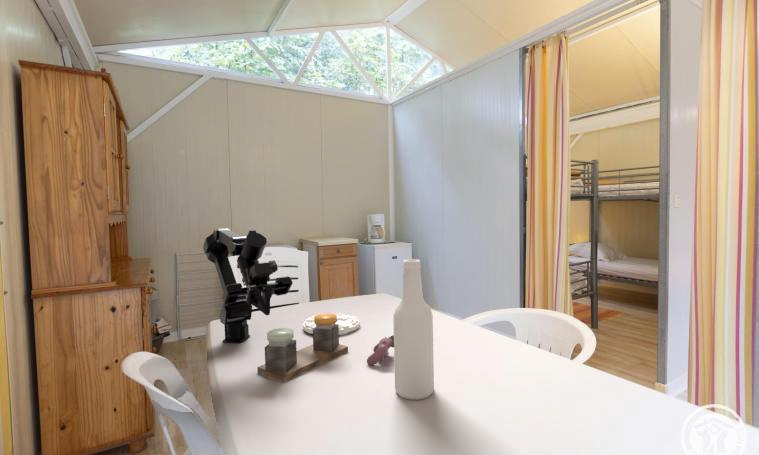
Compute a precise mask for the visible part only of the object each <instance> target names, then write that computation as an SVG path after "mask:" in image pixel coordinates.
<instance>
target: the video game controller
mask: <svg viewBox="0 0 759 455" xmlns="http://www.w3.org/2000/svg"><path fill="white" fill-rule="evenodd" d="M391 343H392V339H391V338H389V337H386V336H385V337H383V338H381V339H380V340H379V342H378V343H377V344H376V345H375V346H374V347H373V351H372V352H373V353H372V354H371V355H369V356H368V357H367V360H366V362H367V365H369V366H374V365H376V364H379V363H382V362H383V360H384V359H385V358H386V357H388V356H389V355H390V352H389V349H390V348H391Z"/></svg>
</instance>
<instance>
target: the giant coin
mask: <svg viewBox="0 0 759 455" xmlns="http://www.w3.org/2000/svg"><path fill="white" fill-rule="evenodd" d="M336 315H337V322H336V323H335V324H338V326H339V336H341V335H342V336H343V335H347V334H348V333H352V332H353V331H356V330H357V329H359V328H360V325H361V324H360V319H359V318H358V317H357V316H355V315H354V316H353V315H347V314H343V313H341V312H340V313H339V312H338V313H337V314H336ZM315 316H316V315H313V316H310V317H307V318H306V320H305V321H304V322H303V323H302V329H303V331H304V332H306V333H308V334H312V335H313V329H314V328H315V327H316V324H315V323H314V317H315Z"/></svg>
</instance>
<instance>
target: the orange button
mask: <svg viewBox="0 0 759 455" xmlns="http://www.w3.org/2000/svg"><path fill="white" fill-rule="evenodd" d="M337 315H338V314H335V313H334V314H333V313H321V314H317V315H314V316H315V317H314V323H315V324H316V329H321V330H332V329H333V328H334V327H335V323H336V322H337Z"/></svg>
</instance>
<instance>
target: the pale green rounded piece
mask: <svg viewBox="0 0 759 455" xmlns="http://www.w3.org/2000/svg"><path fill="white" fill-rule="evenodd" d="M294 335H295V334H294V330H293V329H292V328H288V327H280V328H273V329H271V330H269V331H268V332H266V341H268V344H269V347H287V346H288V345H289V344H290V343H291V342H292V340H293V339H294V338H295V337H294Z"/></svg>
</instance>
